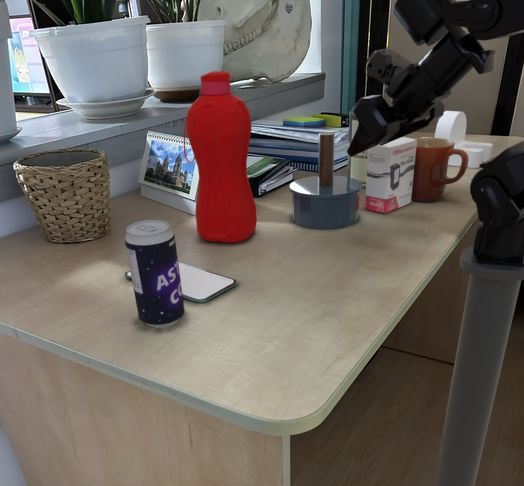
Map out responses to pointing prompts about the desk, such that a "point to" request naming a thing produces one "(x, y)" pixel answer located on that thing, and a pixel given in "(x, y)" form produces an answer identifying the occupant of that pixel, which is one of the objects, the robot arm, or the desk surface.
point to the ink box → (390, 175)
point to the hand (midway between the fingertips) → (364, 148)
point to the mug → (434, 168)
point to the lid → (326, 176)
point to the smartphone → (200, 283)
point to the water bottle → (221, 161)
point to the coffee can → (359, 161)
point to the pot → (325, 211)
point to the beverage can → (155, 272)
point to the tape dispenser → (461, 140)
